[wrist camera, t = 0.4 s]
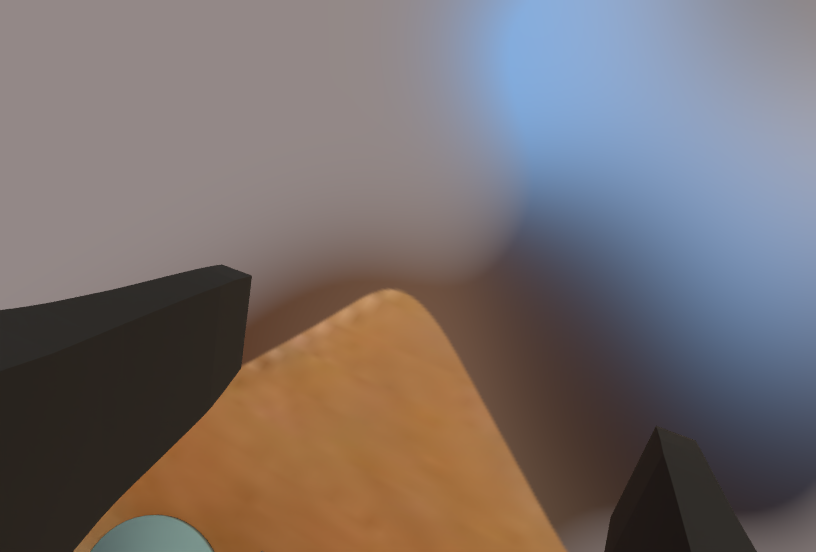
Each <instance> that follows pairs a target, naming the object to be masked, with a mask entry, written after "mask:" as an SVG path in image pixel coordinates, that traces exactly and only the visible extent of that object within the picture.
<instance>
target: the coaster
mask: <svg viewBox="0 0 816 552" xmlns="http://www.w3.org/2000/svg"><path fill="white" fill-rule="evenodd" d="M91 552H214V550H213V548H212V547H211V545H210V544H209V542H208V541H207V540H206V538H205V537H204V536H203V535H202V534H201V533H200V532H199V531H198V530H197V529H195V528H194V527H193V526H191V525H190V524H188V523H187V522H185V521H183V520H180V519H178V518H175V517H171V516H165V515H148V516H141V517H137V518H133V519H130V520H128V521H125V522H123V523H121V524H120V525H118V526H116V527H115V528H113V529H112V530H110V531H109V532H108V533H107V534H106V535H105V536H103V537H102V538H101V539H100V541H99V542H98V543H97V544H96V545H95V546H94V548H93V549H92V550H91Z"/></svg>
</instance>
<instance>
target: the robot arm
mask: <svg viewBox="0 0 816 552" xmlns="http://www.w3.org/2000/svg"><path fill="white" fill-rule="evenodd" d="M251 279H252V276H251V275H249V274H246V273H243V272H240V271H238V270H235V269H232V268H230V267H227V266H224V265H216V266H210V267H205V268H201V269H195V270H191V271H187V272H183V273H179V274H175V275H171V276H166V277H162V278H158V279H154V280H150V281H147V282H142V283H138V284H134V285H130V286H126V287H122V288H118V289H113V290H109V291H104V292H100V293H94V294H90V295H85V296H80V297H75V298H70V299H66V300H61V301H56V302H51V303H46V304H40V305H34V306H28V307H21V308H14V309H6V310H0V552H73V551H74V549H75V548H76V547H77V546H78V545H79V544H80V542H81V541H82V540H83V539H84V538H85V536H86V535H87V534H88V533H89V532H90V530H91V529H92V528H93V527H94V526H95V524H96V523H97V522H98V521H99V520H100V518H101V517H102V516H103V515H104V514H105V513H106V512H107V511H108V510H109V509H110V508H111V507H112V505H113V504H114V503H115V502H116V501H117V500H118V499H119V498H120V497H121V496H122V495H123V494H124V493H125V492H126V491H127V490H128V489H129V488H130V487H131V486H132V485H133V484H134V483H135V482H136V481H137V480H138V479H139V478H140V477H141V476H142V475H144V474H145V473H146V472H147V471H148V470H149V469H150V468H151V467H152V466H153V465H154V464H155V463H156V462H157V461H158V460H159V459H160V458H161V457H162V456H163V455H164V454H165V453H166V452H167V451H168V450H169V449H170V448H171V447H172V446H173V445H174V444H175V443H176V442H177V441H178V440H179V439H180V438H181V437H182V436H184V435H185V434H186V433H187V432H188V431H189V430H190V429H191V428H192V427H193V426H194V425H195V424H196V423H197V422H198V421H199V420H200V419H201V418H202V417H203V416H204V415H205V414H206V412H207V411H208V410H209V409H210V408H211V407H212V406H213V404H214V403H215V402H216V401H217V399H218V398H219V397H220V396H221V394H222V393H223V392H224V390H225V389H226V388H227V386H228V385H229V384H230V382H231V381H232V380H233V378H234V377H235V376H236V374H237V373H238V372H239V370H240V369H241V364H242V355H243V346H244V337H245V329H246V320H247V312H248V304H249V296H250V287H251ZM605 552H757V551H756V550H755V548H754V546H753V545H752V543H751V541H750V539H749V538H748V536H747V534H746V533H745V531H744V529H743V527H742V526H741V524H740V522H739V521H738V519H737V517H736V515H735V513H734V511H733V510H732V508H731V506H730V504H729V502H728V500H727V499H726V497H725V495H724V493H723V491H722V489H721V487H720V485H719V484H718V482H717V480H716V478H715V476H714V474H713V472H712V471H711V469H710V467H709V465H708V463H707V461H706V459H705V457H704V455H703V453H702V452H701V450H700V448H699V446H698V445H697V443H696V441H695V440H693V439H690V438H687V437H685V436H682V435H679V434H676V433H674V432H671V431H668V430H666V429H663V428H660V427H657V426H656V427H655V429H654V431H653V433H652V435H651V438H650V439H649V441H648V443H647V445H646V447H645V450H644V452H643V453H642V455H641V457H640V459H639V462H638V463H637V465H636V467H635V470H634V471H633V474H632V476H631V477H630V480H629V482H628V484H627V486H626V488H625V490H624V492H623V494H622V496H621V498H620V500H619V502H618V504H617V506H616V508H615V510H614V512H613V514H612V516H611V519H610V524H609V530H608V535H607V540H606V546H605Z"/></svg>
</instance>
